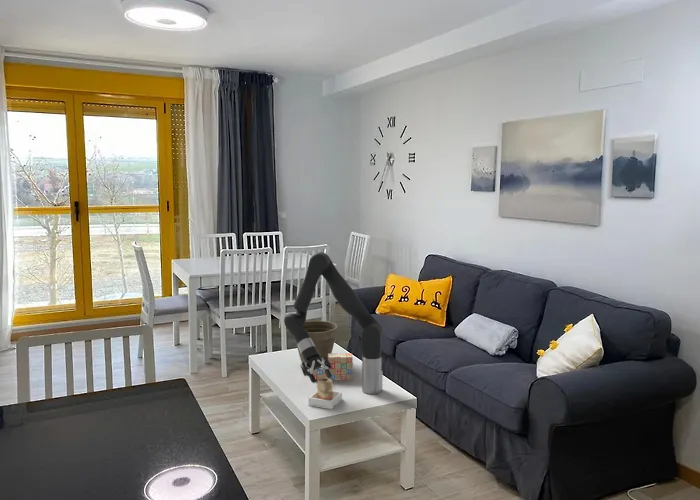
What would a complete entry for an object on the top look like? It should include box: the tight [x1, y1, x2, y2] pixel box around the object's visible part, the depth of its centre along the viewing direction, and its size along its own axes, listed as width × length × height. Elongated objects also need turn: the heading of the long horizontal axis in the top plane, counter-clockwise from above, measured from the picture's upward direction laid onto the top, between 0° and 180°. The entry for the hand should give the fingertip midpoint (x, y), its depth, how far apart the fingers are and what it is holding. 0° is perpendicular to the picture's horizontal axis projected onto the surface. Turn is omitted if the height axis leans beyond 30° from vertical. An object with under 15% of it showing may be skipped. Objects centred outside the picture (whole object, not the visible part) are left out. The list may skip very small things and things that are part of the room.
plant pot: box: [294, 320, 339, 369], centre depth 302 cm, size 25×25×22 cm
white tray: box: [307, 390, 343, 410], centre depth 254 cm, size 12×12×4 cm
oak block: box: [316, 377, 334, 401], centre depth 253 cm, size 5×5×10 cm
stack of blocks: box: [312, 352, 354, 381], centre depth 283 cm, size 21×6×12 cm, turn 93°
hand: (322, 380), depth 254 cm, fingers open, 8 cm apart
